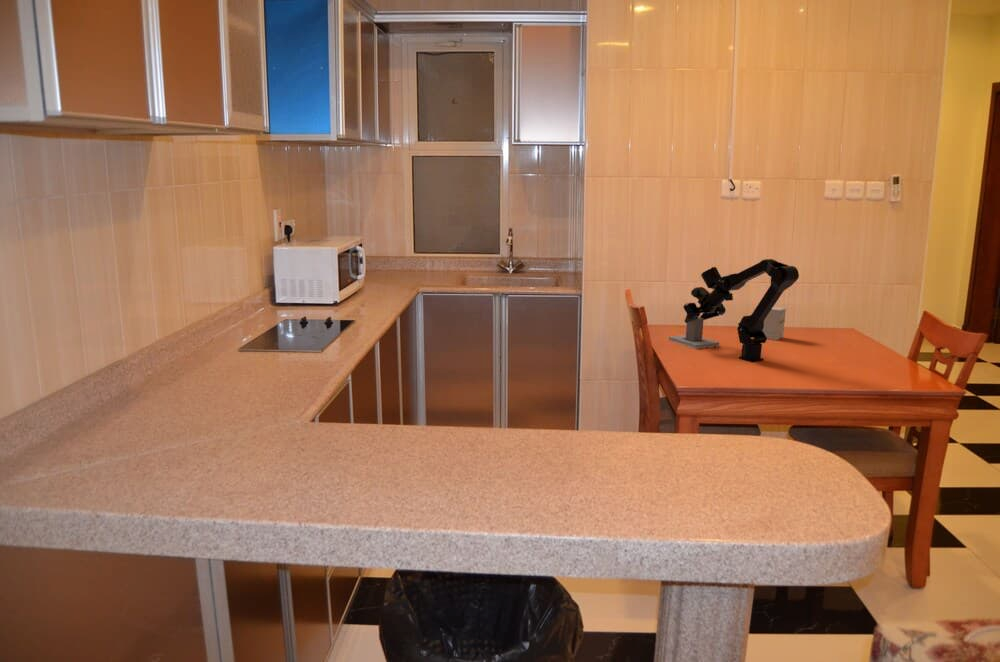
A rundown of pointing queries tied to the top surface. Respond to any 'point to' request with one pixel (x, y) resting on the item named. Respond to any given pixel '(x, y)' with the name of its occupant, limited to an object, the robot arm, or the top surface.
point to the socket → (695, 345)
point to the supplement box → (774, 323)
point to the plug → (694, 330)
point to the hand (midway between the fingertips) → (692, 321)
